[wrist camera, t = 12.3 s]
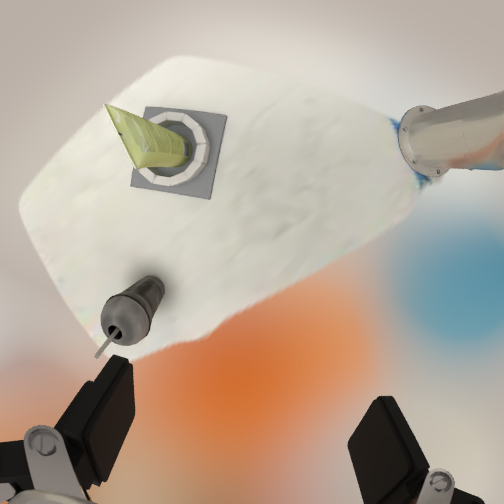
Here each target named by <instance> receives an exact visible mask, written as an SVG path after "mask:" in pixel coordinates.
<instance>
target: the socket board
mask: <svg viewBox="0 0 504 504" xmlns="http://www.w3.org/2000/svg"><path fill="white" fill-rule="evenodd" d="M143 118H144V119H146V120H148V121H150V122H153V123H155V124H157V125H159V126H162V127H164V128H166V129H168V130H170V131H173V132H175V133H177V134H179V135H181V136H183V137H185V138H186V139H187V140H188V141H189V142H190V144H191V147H192V154H191V157H190V159H189V161H188V162H187V163H186V164H185V165H183V166H181V167H146V168H141V169H139V170H137V169H135V168H134V166H133V172H132V178H131V185H130V186H131V187H137V188H144V189H150V190H156V191H162V192H168V193H174V194H180V195H186V196H192V197H197V198H203V199H208V200H209V199H210V197H211V192H212V186H213V181H214V176H215V171H216V166H217V161H218V156H219V151H220V146H221V141H222V137H223V132H224V127H225V123H226V118H227V116H226V115H221V114H214V113H207V112H199V111H191V110H182V109H172V108H160V107H145V111H144V116H143Z"/></svg>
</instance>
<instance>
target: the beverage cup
mask: <svg viewBox="0 0 504 504" xmlns="http://www.w3.org/2000/svg"><path fill="white" fill-rule="evenodd" d="M164 290H165V289H164V285H163V283H162V282H161V280H160V279H158V278H157V277H154V276H147V277H145V278H143V279H141V280H139V281H138V282H136V283H135V284H134V285H132V286H131V287H129V288H128V289H126V290H125V291H123V292H122V293H120V294H117V295H114V296H112V297H110V298H109V299H108V300H107V302H106V304H105V305H104V307H103V310H102V313H101V326H102V329H103V332H104V333H105V335H106V336H107V337H108V339H107V340H106V342H105V343H104V344H103V345H102V347H101V348H100V349H99V350H98V352H97V353H96V354H95V356H94V357H95V358H96V359H98V357H99V356H100V355H101V354H102V352H103V351H104V350H105V348H106V347H107V346H108V345H109V343H110V342H111V341H112V342H114V343H116V344H119V345H122V346H130V345H133V344H136V343H138V342H139V341H141V340H142V339H143V338H144V337H146V336H147V335H148V333H149V331H150V326H151V322H152V318H153V316H154V314H155V312H156V310H157V308H158V306H159V304H160V301H161V299H162V297H163V294H164Z"/></svg>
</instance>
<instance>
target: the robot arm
mask: <svg viewBox="0 0 504 504" xmlns="http://www.w3.org/2000/svg"><path fill="white" fill-rule="evenodd" d="M403 130H404V131H403ZM398 138H399V145H400V148H401V151H402V153H403V156H404V158H405V159H406V161H407V162H408V164H409V165H410V166H411V167H412V168H413V169H414V170H415V171H416V172H418V173H420V174H421V175H424V176H427V177H438V176H441V175H443V174H445V173H446V172H447V171H448V170H449V169H450V168H458V169H469V170H473V169H480V170H503V169H504V91H501V92H499V93H495V94H492V95H489V96H486V97H482V98H478V99H474V100H470V101H466V102H463V103H459V104H455V105H452V106H448V107H445V108H441V109H438V110H436V109H434V108H431V107H429V106H417V107H414V108H412V109H410V110H408V111H407V112H406V113H405V115H404V116H403V117H402V119H401V122H400V125H399V130H398ZM412 161H413V163H412ZM133 383H134V382H133V365H132V364H130V363H129V360H128V359H127V358H124V357H120V356H117V355H112V357H111V358H110V359H109V361H108V362H107V363H106V365H105V366H104V368H103V369H102V371H101V372H100V373H99V375H98V376H97V378H96V379H95V381H94V382H93V381H87V382H86V383H85V384H84V385H83V386H82V388H81V389H80V391H79V392H78V393H77V395H76V396H75V398H74V399H73V401H72V402H71V403H70V405H69V406H68V408H67V409H66V411H65V412H64V414H63V415H62V416H61V418H60V419H59V421H58V422H57V424H56V425H55V427H54V428H52V427H49V426H46V425H38V426H34V427H32V428H30V429H29V430H28V431H27V432H26V434H25V436H24V440H18V441H10V442H0V503H1V502H4V501H8V502H9V503H8V504H97V503H94V502H92V500H91V497H90V495H89V493H88V491H87V490H88V489H90V487H91V485H92V484H94V485H97V486H100V485H101V482H102V481H103V482H106V481H107V480H108V477H109V475H110V473H111V470H112V468H113V466H114V463H115V461H116V459H117V456H118V454H119V451H120V449H121V447H122V444H123V442H124V440H125V437H126V435H127V433H128V431H129V428H130V426H131V424H132V422H133V419H134V416H135V401H134V400H135V399H134V384H133ZM348 450H349V453H350V457H351V460H352V463H353V467H354V470H355V474H356V477H357V481H358V484H359V488H360V491H361V495H362V499H363V502H364V504H485V503H484V501H483V500H482V499H481V498H479V497H477V496H474V495H472V494H469V493H466V492H464V491H462V490H459V489H457V488H454V485H455V482H454V478H453V477H452V475H451V474H450V473H449V472H448V471H446V470H444V469H433V470H431V471H430V472H429V470H428V468H429V467H430V466H429V464H428V462H427V460H426V458H425V456H424V454H423V452H422V450H421V448H420V446H419V444H418V442H417V440H416V438H415V436H414V434H413V433H412V431H411V429H410V427H409V425H408V423H407V421H406V419H405V417H404V416H403V414H402V412H401V410H400V408H399V407H398V404H397V403H396V401H395V399H394V398H393V397H392V396H379V397H377V399H375V400H374V401H373V402H372V404H371V405H370V407H369V409H368V410H367V412H366V414H365V416H364V417H363V419H362V420H361V422H360V423H359V425H358V427H357V428H356V430H355V431H354V433H353V434H352V436H351V437H350V439H349V441H348Z"/></svg>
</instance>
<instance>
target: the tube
mask: <svg viewBox="0 0 504 504" xmlns="http://www.w3.org/2000/svg"><path fill="white" fill-rule="evenodd" d="M103 106H104V108H105V110H106V112H107V114H108V116H109V118H110V120H111V123H112V125H113V127H114V129H115V131H116V133H117V135H118V137H119V139H120V141H121V143H122V145H123V147H124V149H125V151H126V153H127V155H128V157H129V159H130V161H131V163H132V165H133V166H134V168H135V169H137V170H139V169H141V168H146V167H181V166H183V165H185V164H186V163H187V162H188V161H189V159H190V157H191V154H192V147H191V144H190V142H189V141H188V140H187V139H186V138H185V137H183V136H181V135H179V134H177V133H175V132H173V131H170V130H168V129H166V128H164V127H162V126H159V125H157V124H155V123H153V122H150V121H148V120H146V119H144V118H141V117H139V116H136V115H134V114H132V113H129V112H127V111H124V110H122V109H119V108H116V107H113V106H110V105H107V104H103Z"/></svg>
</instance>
